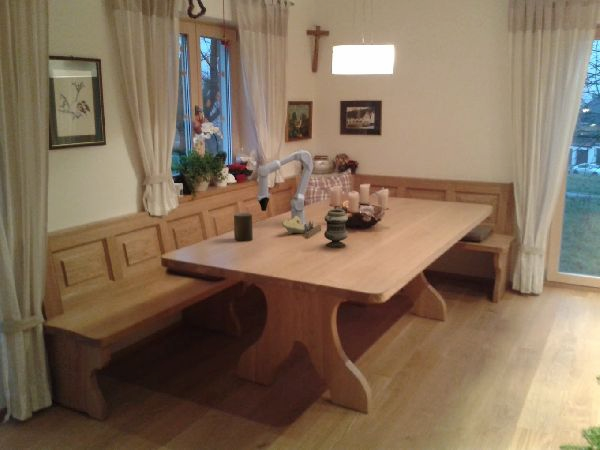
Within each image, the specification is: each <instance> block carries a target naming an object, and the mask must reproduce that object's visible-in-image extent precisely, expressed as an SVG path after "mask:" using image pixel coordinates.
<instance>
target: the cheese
mask: <svg viewBox="0 0 600 450" xmlns="http://www.w3.org/2000/svg"><path fill="white" fill-rule="evenodd" d="M301 223H302V222H301V219H299V217H297V216H295V217H294V218H293V219H292V220H291V219H289V220H288V217H286V218H285V219H283V221H282V227H284V228H285V229H286V231H287V233H288V235H291V234H293V233H294V234H296V233H298V234H304V226H302V225H301Z"/></svg>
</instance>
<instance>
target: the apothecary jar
mask: <svg viewBox="0 0 600 450" xmlns="http://www.w3.org/2000/svg"><path fill="white" fill-rule="evenodd" d="M348 219H349V217H348V215H347V214H346V212H345V210H344V209H341V208H340V209H338V208H334V209H333V208H332V209H329V210H327V213H326V214H325V216H324V221H325V222H326V230H325V231H324V233H323V235H324V238H325V239H327V240H329V242H327V243H326V244H325V246H326V247H329V248H334V249H335V248H344V247H346V243H344V242H342V241H344V240H346V239H347V238H348V236H349V233H348V231H347V230H346V229H347V228H346V222H347V221H348Z"/></svg>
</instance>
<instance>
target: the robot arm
mask: <svg viewBox="0 0 600 450" xmlns="http://www.w3.org/2000/svg"><path fill="white" fill-rule="evenodd" d="M293 161H297V162H298V161H299V162H300V163H301V165H302V166H303V170H302V173H301V176H300V180H299V182H298V185H297V186H298V187H297V190H296V192H295V194H294V195H293V198H291V200H290V203H289V204H290V207H291V211H290V215H291V217H290V220H292V219H293V218H294V217H295V216H297V217H299V219H301V222H302V223H301V225H302V226H304V224H308V223H307V222H306V211H305V210H304V208H305V200H306V199H305V198H306V197H305V196H306V193H307V192H306V191H307V189H308V185H309V182H310V179H311V176H312V173H313V169H314V163H313V156H312V155H311V153H310V152H309V151H307V150H304V149H299V150H297V151H294V152H292V153H290V154H288V155H286V156H284V157H282V158H281V159H279V160H276V159H275V160H274V159H271V161H270V162H268V163H267V164H266V163H265V164H263V166H262V165H261V166H259V167H258V168H257V169H256V170H257V171H256V174H257V175H258V176H257V178H258V180H257V181H258V183H257V185H258V186H257V189H258V191H257V193H258V194H256V201H258V203H259V205H260V209H261V211H262V212H266V211H267V207H268V203H269V201H270V198H269V197H271V193H270V192H269V175H270V174H272V173H275V172H277V171H278V170H279V171H280V169H281V167H282V166H284V165H286V164H288V163H290V162H293Z"/></svg>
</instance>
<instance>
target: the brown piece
mask: <svg viewBox="0 0 600 450" xmlns="http://www.w3.org/2000/svg"><path fill="white" fill-rule="evenodd" d="M321 231H322V225H320V224H317V225H316V226H314V221H311V220H310V221H308V223H307V224H304V233H303V234H304V235H303V236H304V238H305V239H311V237H313V236H315V235H316V234H318V233H320V232H321Z"/></svg>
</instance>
